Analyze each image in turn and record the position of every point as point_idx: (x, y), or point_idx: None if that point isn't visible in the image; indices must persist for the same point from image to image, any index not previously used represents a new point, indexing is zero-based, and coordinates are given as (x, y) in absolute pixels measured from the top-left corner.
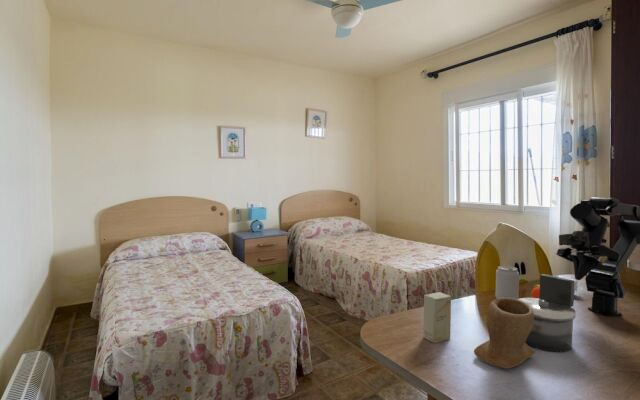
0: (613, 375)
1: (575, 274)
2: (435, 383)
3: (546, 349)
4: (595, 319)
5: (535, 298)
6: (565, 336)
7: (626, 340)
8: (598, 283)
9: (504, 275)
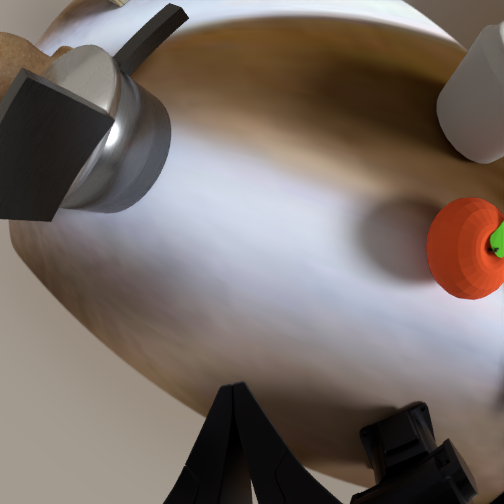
0: (32, 243)
1: (243, 404)
2: (38, 42)
3: None
4: (326, 388)
5: (105, 96)
6: None
7: (167, 378)
8: (390, 494)
9: (477, 39)
